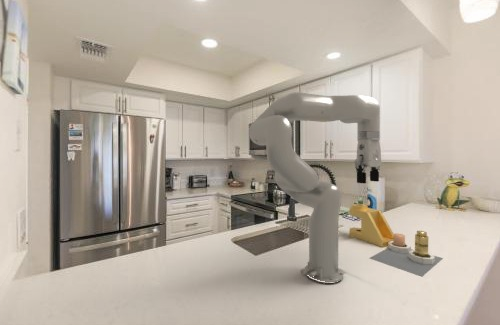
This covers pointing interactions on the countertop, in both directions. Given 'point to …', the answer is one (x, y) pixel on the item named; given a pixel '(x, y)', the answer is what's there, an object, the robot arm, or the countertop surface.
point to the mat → (403, 262)
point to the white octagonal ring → (429, 260)
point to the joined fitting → (399, 244)
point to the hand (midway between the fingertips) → (368, 182)
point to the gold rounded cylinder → (421, 244)
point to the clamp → (371, 226)
